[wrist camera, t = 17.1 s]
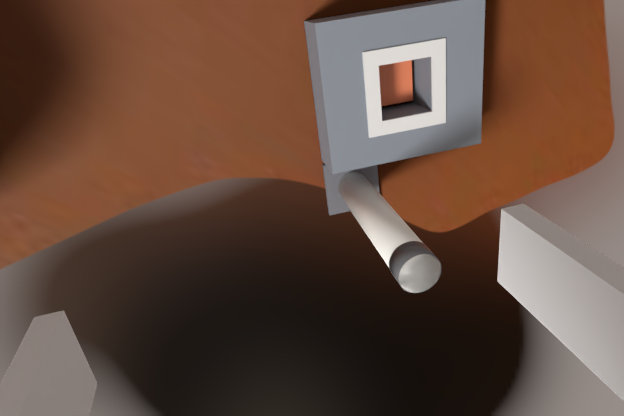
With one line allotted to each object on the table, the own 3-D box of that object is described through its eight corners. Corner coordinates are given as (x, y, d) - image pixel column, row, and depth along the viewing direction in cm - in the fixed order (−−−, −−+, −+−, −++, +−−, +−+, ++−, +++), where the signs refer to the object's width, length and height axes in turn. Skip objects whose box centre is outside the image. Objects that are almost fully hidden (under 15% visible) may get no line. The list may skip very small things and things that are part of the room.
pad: (328, 213, 53) (329, 215, 52) (322, 164, 50) (323, 165, 50) (378, 202, 54) (380, 204, 53) (375, 153, 51) (376, 154, 50)
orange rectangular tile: (370, 105, 48) (374, 107, 47) (367, 63, 47) (371, 65, 46) (408, 97, 49) (413, 100, 48) (406, 57, 47) (411, 58, 46)
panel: (321, 159, 50) (333, 174, 46) (304, 21, 44) (315, 23, 40) (459, 132, 52) (481, 143, 48) (460, -4, 46) (486, -4, 42)
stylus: (339, 203, 52) (399, 297, 36) (335, 174, 50) (397, 259, 34) (369, 197, 52) (441, 287, 36) (366, 168, 51) (441, 249, 35)
